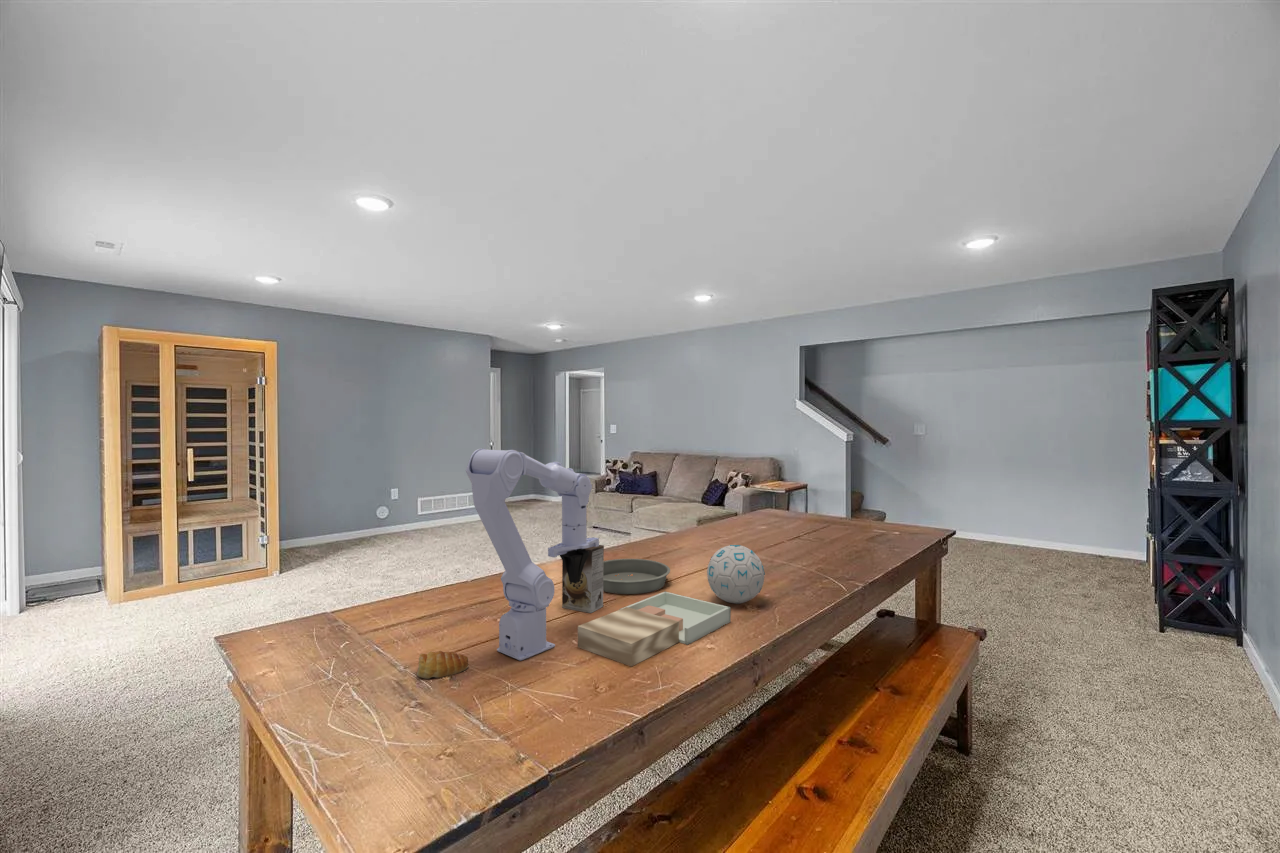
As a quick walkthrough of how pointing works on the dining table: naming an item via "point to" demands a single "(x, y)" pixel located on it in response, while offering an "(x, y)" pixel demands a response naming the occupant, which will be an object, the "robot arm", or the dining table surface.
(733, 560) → the puzzle ball
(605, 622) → the block
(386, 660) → the dining table surface
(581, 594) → the coffee box
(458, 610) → the dining table surface
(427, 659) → the pastry
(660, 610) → the tile far
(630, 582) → the cake pan
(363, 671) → the dining table surface
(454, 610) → the dining table surface
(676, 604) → the tray
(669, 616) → the tile near
